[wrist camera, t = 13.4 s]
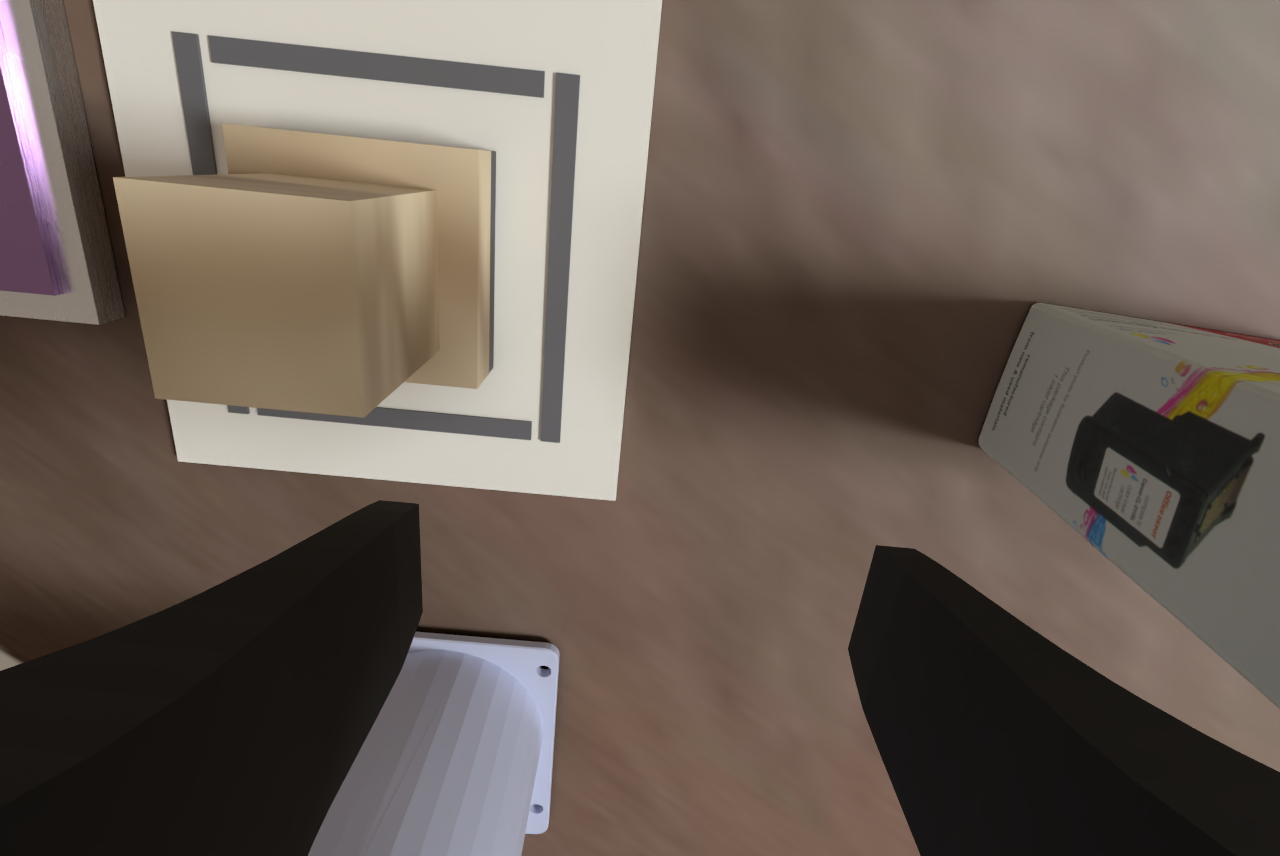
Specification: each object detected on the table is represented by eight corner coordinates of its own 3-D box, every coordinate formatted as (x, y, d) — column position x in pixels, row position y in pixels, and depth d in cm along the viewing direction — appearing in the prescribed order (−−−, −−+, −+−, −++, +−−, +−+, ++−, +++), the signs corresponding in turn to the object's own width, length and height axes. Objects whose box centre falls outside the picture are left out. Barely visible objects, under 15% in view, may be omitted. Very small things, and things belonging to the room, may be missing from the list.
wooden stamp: (493, 367, 20) (417, 468, 13) (291, 348, 19) (112, 441, 13) (496, 151, 17) (405, 143, 11) (267, 127, 17) (38, 105, 11)
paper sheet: (615, 496, 22) (615, 502, 21) (184, 457, 21) (175, 462, 21) (662, -1, 16) (662, -5, 16) (90, -65, 16) (76, -70, 16)
